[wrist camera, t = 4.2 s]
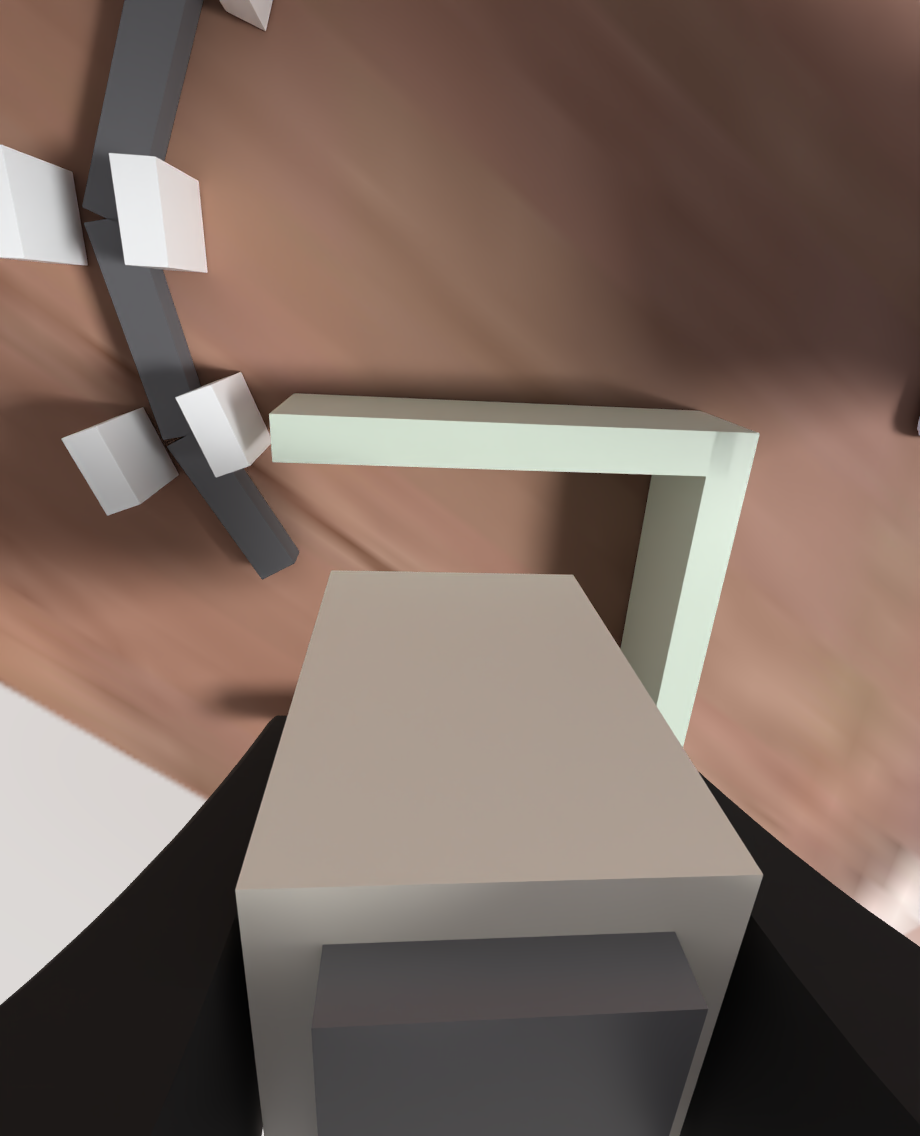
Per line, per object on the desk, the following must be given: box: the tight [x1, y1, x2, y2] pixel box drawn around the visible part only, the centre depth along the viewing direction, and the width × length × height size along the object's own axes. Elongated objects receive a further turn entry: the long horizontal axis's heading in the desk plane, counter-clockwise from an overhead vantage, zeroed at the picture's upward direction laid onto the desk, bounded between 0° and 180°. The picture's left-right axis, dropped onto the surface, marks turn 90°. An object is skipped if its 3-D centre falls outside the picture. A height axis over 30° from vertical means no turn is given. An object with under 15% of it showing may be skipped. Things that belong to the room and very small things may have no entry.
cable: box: [82, 0, 299, 580], centre depth 13 cm, size 4×17×1 cm, turn 177°
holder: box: [269, 393, 760, 747], centre depth 16 cm, size 10×10×3 cm
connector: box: [235, 570, 763, 1136], centre depth 8 cm, size 4×4×7 cm
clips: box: [0, 0, 273, 516], centre depth 12 cm, size 6×12×2 cm, turn 177°
